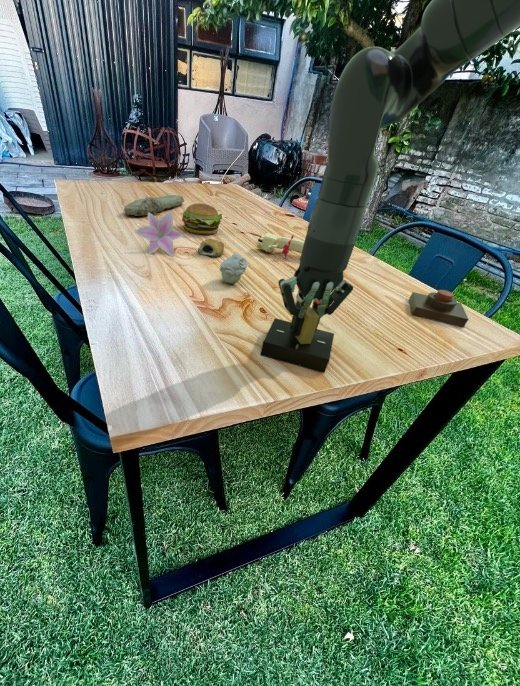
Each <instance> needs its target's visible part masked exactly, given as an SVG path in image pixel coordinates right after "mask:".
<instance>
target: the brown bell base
mask: <svg viewBox="0 0 520 686" xmlns="http://www.w3.org/2000/svg"><path fill="white" fill-rule="evenodd" d="M436 294H437V292H434V291H431V292H430V293H428V294H423V293H419V292H415V291H412V293H411V294H410V296H409V299H408V302H409V308H410V313H411V316H414V317H419V318H423V319H427V320H430V321H435V322H439V323H443V324H447V325H451V326H455V327H460V328H464V327H465V326H466V325H467V323H468V321H469V320H470V318H469V317H468V315H467V313H466V311H465V308H464V307H463V305H462V303H461V302H459V301H457V299H456V298H455V297H453V298H452V299H451V301H450V302H445V301H441V300H439V299H437V298H435V295H436ZM457 302H458V303H457Z"/></svg>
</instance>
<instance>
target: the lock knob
mask: <svg viewBox="0 0 520 686" xmlns="http://www.w3.org/2000/svg"><path fill="white" fill-rule="evenodd" d="M318 320H319V316H318V315H317V313H316V312H315V311H314V310H313V309H312V306H310V307H308V309H307V311H306V314H305V316H304V322H303V325H302V329H301V332H300V335H299V336H295V337H296V338H297V340H298V341H299V342H300V344H311V341H312V338H313V335H314V332H315V329H316V326H317V323H318Z"/></svg>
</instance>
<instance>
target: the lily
mask: <svg viewBox="0 0 520 686" xmlns="http://www.w3.org/2000/svg"><path fill="white" fill-rule="evenodd" d="M174 216H175V215H174V211H173V210H170V211H168V212H167V213H165V214H163V216H161V217H160V218H159V219H158V218H157V217H156V216H155V214H154V215H152V214H151V213H148V215H147V220H148V224H147V225H143V226H142V227H139V228H137V229H135V230H134V233H135V234H136V235H137V236H139V237H141V238H143V239H145V240H147V241H149V244H148V254H149V255H152V254H153V253H154V252H156V251H157V250H158V249H159V248H160V249H161V250H162V251H164V252H165V253H166V254H168V255H169V257H175V247H174V246H175V245H174V242H173V241H175V240H178V239H180V238H182V237H183V236H184V234H183V233H182V232H180V231H178V230H176V229H175V228H173V225H174Z"/></svg>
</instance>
